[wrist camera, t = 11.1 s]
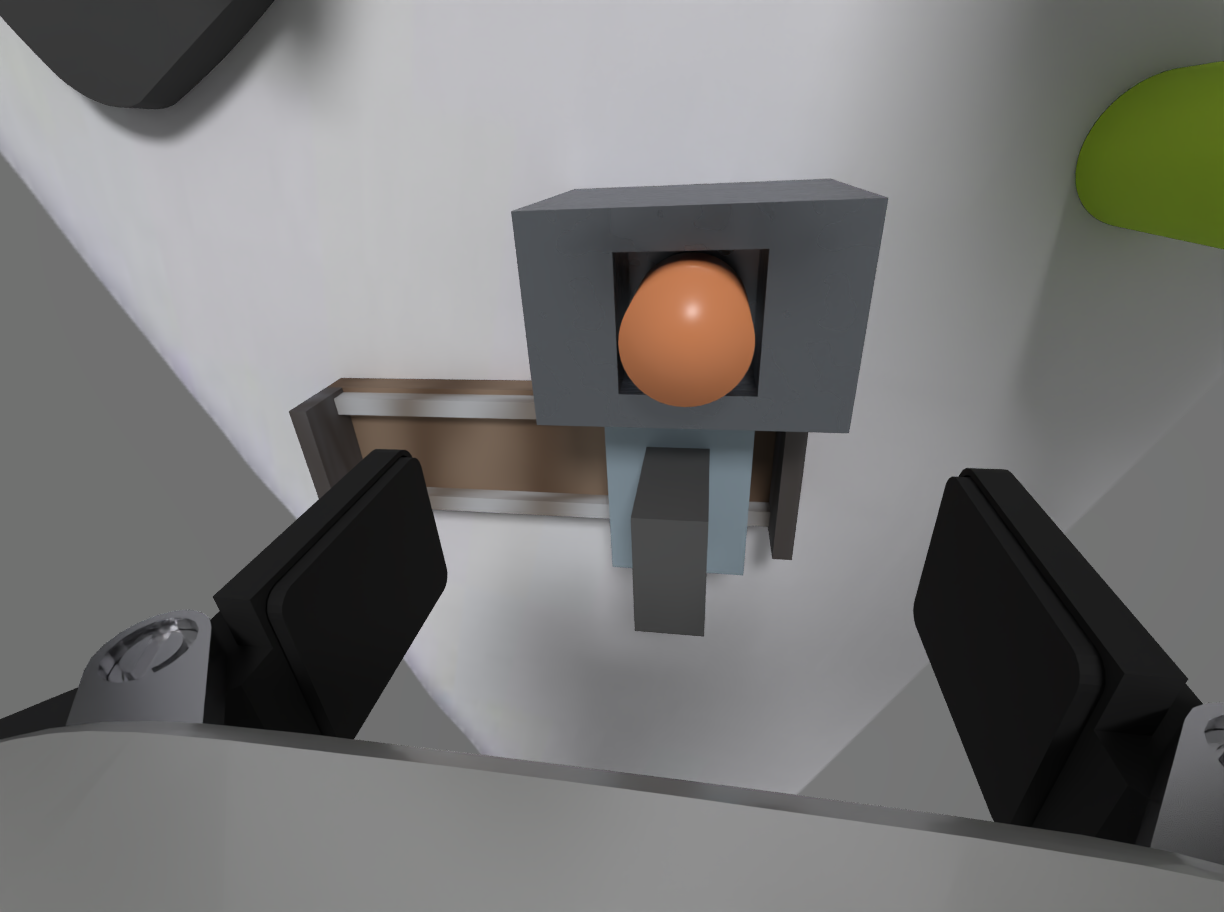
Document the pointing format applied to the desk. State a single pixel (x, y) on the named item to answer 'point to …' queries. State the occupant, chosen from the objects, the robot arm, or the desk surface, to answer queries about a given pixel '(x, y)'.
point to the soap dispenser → (1160, 157)
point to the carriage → (677, 517)
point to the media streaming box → (132, 43)
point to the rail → (507, 450)
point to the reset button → (688, 331)
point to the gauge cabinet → (752, 246)
